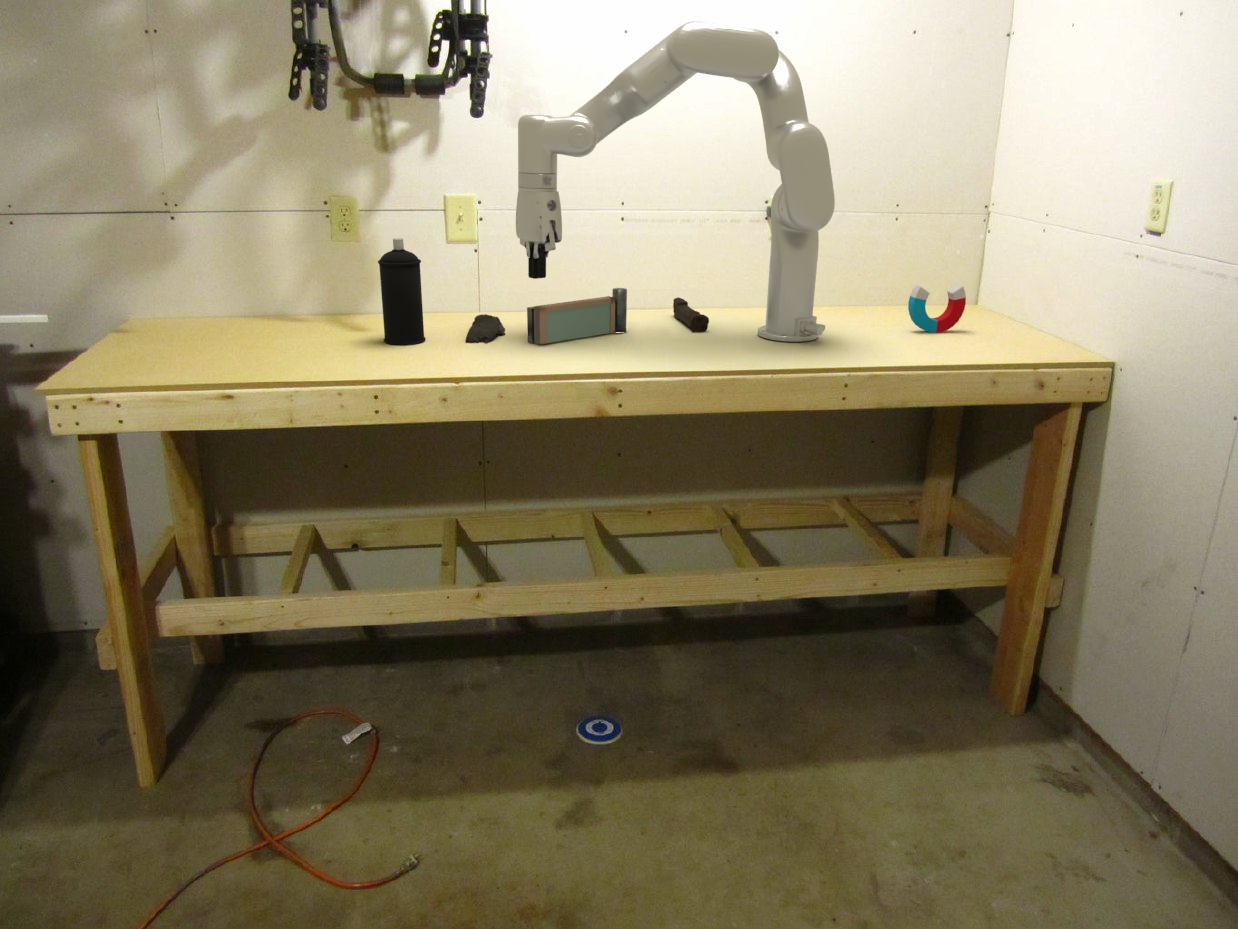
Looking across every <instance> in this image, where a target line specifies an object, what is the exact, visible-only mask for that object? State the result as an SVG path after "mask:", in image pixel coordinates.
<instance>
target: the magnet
mask: <svg viewBox="0 0 1238 929" xmlns="http://www.w3.org/2000/svg"><path fill="white" fill-rule="evenodd" d="M946 293H947V297H948V302H947V306H946V308H945V310H944V311H943V312H942V313H941V315H939V316H937V317H930V316H929V315H928V314H927V310H926V309H927V308H926V304H927V300H928V299H929V298H928V297H929V296H930V292H929V291H927V289H925V288H923V287H922V286H921V285H919V284H915V285H914V287H913V288H912V289H911V292H910V295H909V298H908V306H907V309H908V314H909V316H910V319H911V321H912V323H913V324H914V325H915V326H917V327H918V328H919V329H921V330H923V331H925V332H927V333H931V334H939V333H940V334H941V333H943V332H946V331H948V330H950V329H952V328H953V327H954V326H955V325H956V324H957V323H958V322H959V321H960V319H961V317H962V316H963V314H964V311H965V307H966V304H967V303H966V302H967V298H966V297H967V296H966V290H965V287H964V286H963V285H961V284H956V285H954V286H953V287H951V288H949V289H948V290H947V291H946Z"/></svg>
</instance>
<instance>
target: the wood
mask: <svg viewBox="0 0 1238 929" xmlns="http://www.w3.org/2000/svg"><path fill="white" fill-rule="evenodd" d="M505 331H506V328H505V327H504V326H503V323H502V322H501V320H500V318H499V317H498V316H494V315H491V314H487V313H486V314H485V313H484V314H483V313H482V314H478V315H476V316H475V317H474V320H473V321H472V323H471V327H470V328H469V329H468V331H467V334H466V337H465V343H466V344H479V343H483V344H488V343H491V342H493V341H494V340H495V339H496V337H497V336H498V337H499V336H501V337H502V336H505V335H506V332H505Z"/></svg>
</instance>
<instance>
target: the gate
mask: <svg viewBox="0 0 1238 929" xmlns="http://www.w3.org/2000/svg"><path fill="white" fill-rule="evenodd" d="M533 307H534V336H535V343H534V344H538V345H544V344H549V343H554V342H561V341H567V340H568V341H569V340H573V339H579V338H585V337H592V336H597V335H599V336H600V335H602V334H603V335H604V334H612V333H613V332H615V297H612V296H609V295H608V296H602V297H594V298H585V299H579V300H570V301H565V302H556V303H549V304H541V305H534V306H533Z"/></svg>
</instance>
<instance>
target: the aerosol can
mask: <svg viewBox="0 0 1238 929" xmlns="http://www.w3.org/2000/svg"><path fill="white" fill-rule="evenodd" d="M392 247H393V249H392V250H390V251H388V252H386V253H384V254H383V255H382V256H381V257H380V259H379V260H378V261H377V263H378V265H379V277H380V290H381V291H380V292H381V304H382V318H383V320H382V322H383V332H384V333H383V334H384V338H383V342H384V343H385V344H387V345H391V346H392V345H394V346H411V345H417V344H422V343H424V342H425V341H426V337H425V330H424V329H425V328H424V325H425V324H424V312H423V297H422V296H423V295H422V294H423V293H422V279H421V278H422V277H421V263H422V260H421V259H419V258H418V256H417V255H416V254H415V253H413V252H412V251H408V250H407V249H405V248H404V238H401V237H400V238H399V237H397V238H396V237H395V238H392Z"/></svg>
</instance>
